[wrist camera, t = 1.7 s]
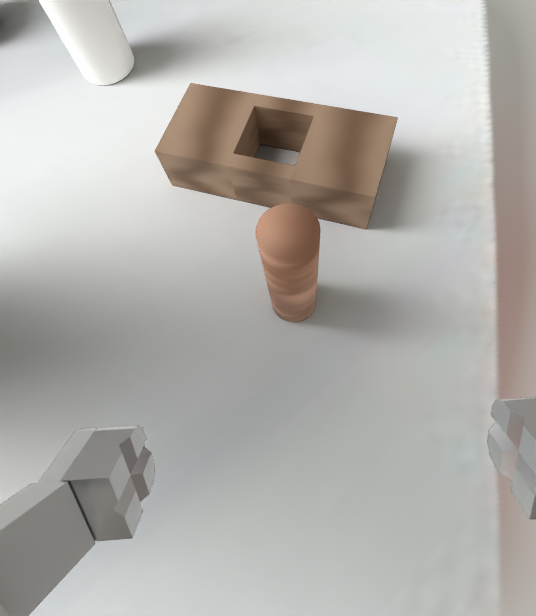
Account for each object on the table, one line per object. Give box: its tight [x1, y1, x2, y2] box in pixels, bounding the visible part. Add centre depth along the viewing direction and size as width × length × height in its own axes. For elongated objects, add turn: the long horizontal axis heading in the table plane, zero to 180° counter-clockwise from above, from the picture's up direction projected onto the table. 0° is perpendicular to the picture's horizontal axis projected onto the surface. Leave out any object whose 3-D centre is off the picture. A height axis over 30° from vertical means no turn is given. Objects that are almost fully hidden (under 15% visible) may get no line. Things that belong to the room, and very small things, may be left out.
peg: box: [256, 203, 320, 322], centre depth 29 cm, size 4×4×12 cm
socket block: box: [155, 83, 398, 229], centre depth 38 cm, size 21×9×5 cm, turn 72°
